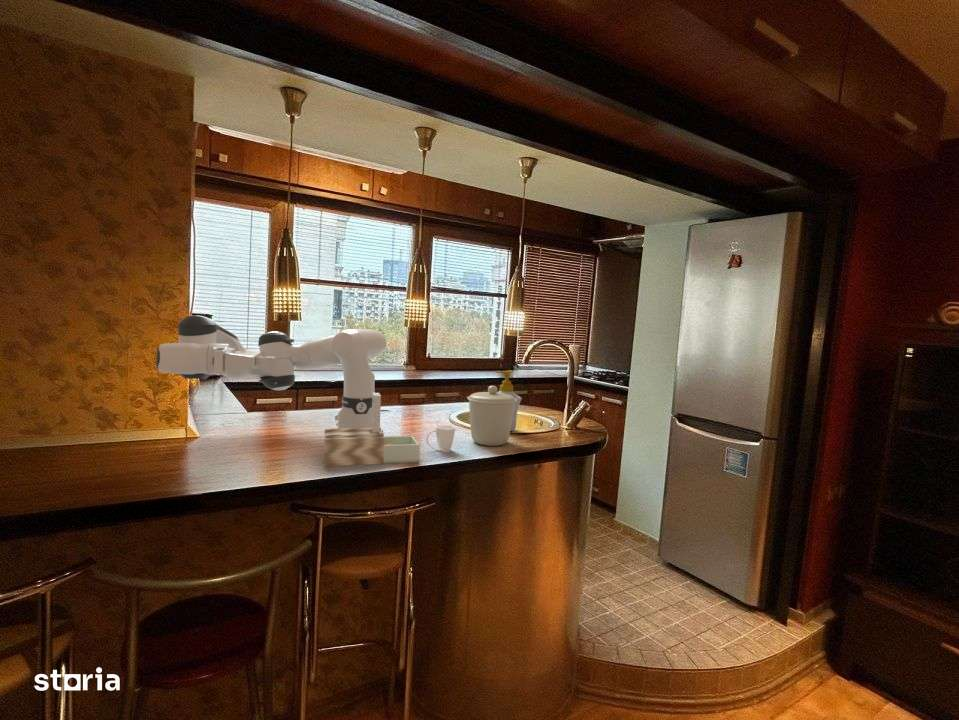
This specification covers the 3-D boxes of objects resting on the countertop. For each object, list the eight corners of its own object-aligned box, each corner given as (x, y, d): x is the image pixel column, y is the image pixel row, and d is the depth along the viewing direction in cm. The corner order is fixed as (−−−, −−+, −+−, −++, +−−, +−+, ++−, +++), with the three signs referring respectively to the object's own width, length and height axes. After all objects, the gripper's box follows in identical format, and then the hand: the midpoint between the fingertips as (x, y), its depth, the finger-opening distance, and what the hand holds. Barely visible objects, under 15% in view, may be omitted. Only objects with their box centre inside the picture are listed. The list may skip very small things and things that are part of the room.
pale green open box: (383, 463, 149) (384, 445, 148) (379, 453, 159) (379, 436, 159) (418, 462, 152) (419, 444, 151) (412, 452, 163) (412, 435, 162)
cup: (457, 452, 165) (458, 428, 164) (428, 454, 161) (429, 429, 161) (451, 447, 171) (452, 424, 171) (423, 448, 168) (424, 425, 167)
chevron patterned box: (324, 466, 143) (325, 436, 142) (324, 455, 154) (324, 427, 153) (383, 463, 149) (384, 435, 148) (379, 453, 159) (380, 426, 159)
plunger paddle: (372, 434, 150) (374, 395, 149) (371, 430, 155) (372, 392, 154) (379, 434, 150) (380, 395, 149) (377, 430, 156) (378, 392, 154)
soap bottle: (482, 428, 202) (485, 369, 200) (504, 425, 210) (508, 368, 208) (503, 435, 192) (506, 372, 190) (526, 431, 200) (529, 371, 198)
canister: (479, 434, 192) (482, 380, 190) (522, 441, 184) (525, 385, 182) (456, 443, 176) (458, 385, 174) (501, 452, 168) (505, 391, 166)
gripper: (228, 366, 149) (277, 367, 153) (214, 374, 130) (271, 375, 134) (228, 345, 148) (278, 346, 153) (214, 350, 129) (271, 352, 133)
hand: (274, 360), depth 143 cm, fingers closed
